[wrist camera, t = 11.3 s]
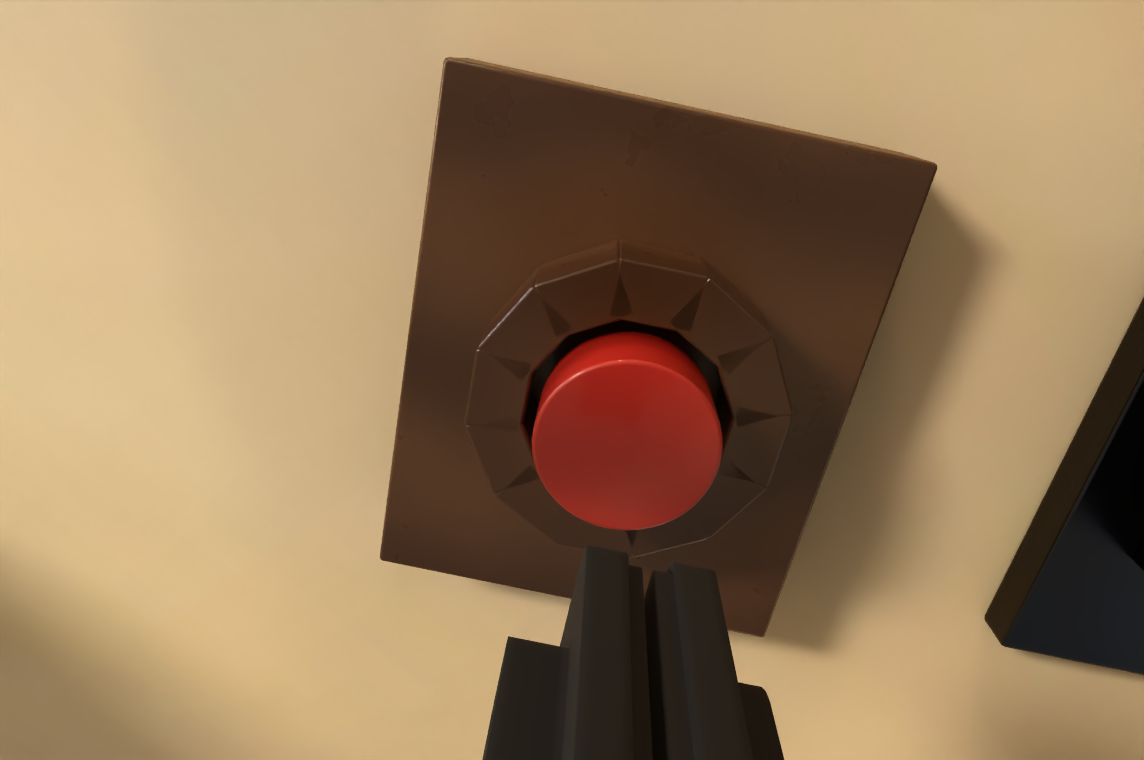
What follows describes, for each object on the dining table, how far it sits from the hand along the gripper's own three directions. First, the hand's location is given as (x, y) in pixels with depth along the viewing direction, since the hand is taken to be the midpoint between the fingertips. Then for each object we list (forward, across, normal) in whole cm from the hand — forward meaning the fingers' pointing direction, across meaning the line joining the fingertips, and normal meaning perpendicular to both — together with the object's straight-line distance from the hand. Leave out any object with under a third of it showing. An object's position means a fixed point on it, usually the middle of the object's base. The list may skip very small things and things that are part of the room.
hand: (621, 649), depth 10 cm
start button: (+7, 0, 0) cm, 7 cm away
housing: (+10, 0, 0) cm, 10 cm away
